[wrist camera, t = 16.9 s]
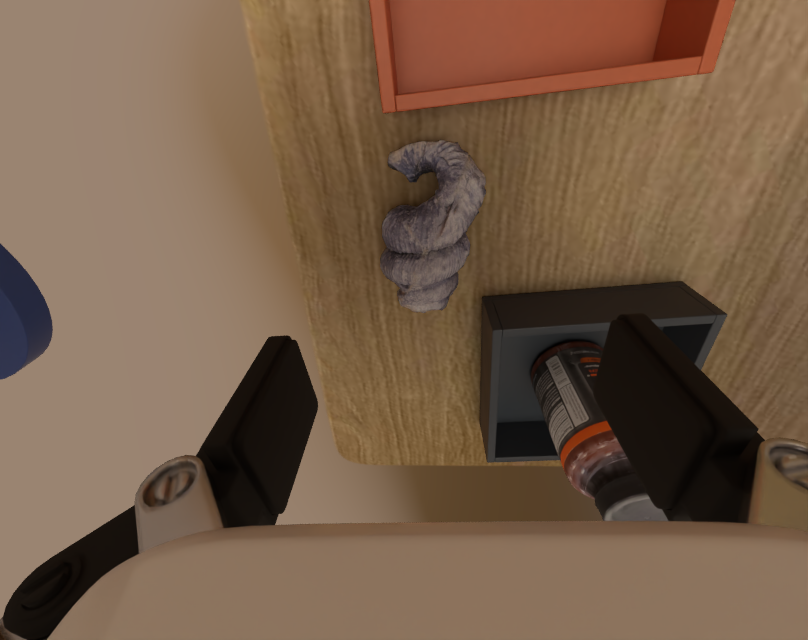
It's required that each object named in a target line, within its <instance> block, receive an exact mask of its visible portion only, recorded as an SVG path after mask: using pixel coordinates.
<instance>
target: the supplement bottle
mask: <svg viewBox="0 0 808 640" xmlns="http://www.w3.org/2000/svg"><path fill="white" fill-rule="evenodd" d="M602 353H603V349H602V348H601V347H600V346H598V345H596V344H594V343H590V342H585V341H572V342H566V343H562V344H559V345H557V346H554V347H552V348H550V349H549V350H547V351H546V352H544V353H543V354H542V355H541V356H540V357H539V358H538V359H537V360H536V362H535V364H534V365H533V368H532V371H531V383H532V386H533V389H534V392H535V395H536V397H537V400H538V403H539V405H540V408H541V411H542V413H543V416H544V418H545V421H546V424H547V426H548V429H549V432H550V435H551V437H552V440H553V443H554V445H555V448H556V451H557V453H558V456H559V459H560V461H561V463H562V466H563V469H564V471H565V474H566V476H567V478H568V480H569V482H570V483H571V484H572V486H573V487H575V488H576V489H577V490H578V491H579V492H581V493H582V494H584V495H586V496H588V497H590V498H593V499H595V504H596V506H597V508H598V509H599V512H600V514H601V515H602V518H603V521H668V519H667V517H666V516H665V514H664V512H663V510H662V509H658V508H656V507H655V506H654V504H653V503H652V501H651V500H650V498H649V496H648V494H647V492H646V491H645V489H644V487H643V485H642V483H641V482H640V480H639V478H638V476H637V474H636V473H635V471H634V469H633V467H632V465H631V464H630V462H629V460H628V458H627V456H626V455H625V453H624V451H623V449H622V447H621V446H620V444H619V442H618V440H617V438H616V437H615V435H614V433H613V431H612V429H611V428H610V426H609V424H608V422H607V420H606V419H605V417H604V415H603V413H602V411H601V410H600V408H599V406H598V404H597V402H596V400H595V398H594V395H593V386H594V383H595V379H596V375H597V371H598V368H599V364H600V360H601V356H602Z"/></svg>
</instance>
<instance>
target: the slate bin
mask: <svg viewBox="0 0 808 640" xmlns="http://www.w3.org/2000/svg"><path fill="white" fill-rule="evenodd" d="M635 313H643V314H645V315H647V316H648V317H649V318H650V319H651V320H652V321H653V322H654V323H655V324H656V325H657V326H658V327H659V329H660V330H661V331H662V332H663V333H664V334H665V335H666V336H667V337H668V338H669V339H670V340H671V341H672V342H673V343H674V344H675V345H676V346H677V347H678V348H679V349H680V350H681V351H682V352H683V353H684V354H685V355H686V356H687V357H688V358H689V359H690V360H691V361H692V362H693V363H694V364H695V365H696V366H697V367H698V368H699V369H700V370H701V369H702V367H703V364H704V362H705V360H706V358H707V356H708V354H709V352H710V350H711V348H712V346H713V344H714V342H715V340H716V338H717V336H718V333H719V331H720V329H721V327H722V325H723V323H724V321H725V319H726V317H727V314H726V313H725V312H723V311H722V310H721V309H719V308H718V307H717V306H715V305H714V304H712V303H711V302H710V301H708V300H707V299H706V298H704V297H703V296H701V295H700V294H699V293H697V292H696V291H695V290H693V289H692V288H690V287H689V286H688V285H686V284H685V283H684V282H669V283H656V284H643V285H630V286H617V287H604V288H591V289H578V290H565V291H552V292H539V293H526V294H513V295H500V296H487V297H482V327H481V381H480V427H481V432H482V437H483V443H484V448H485V453H486V459H487V462H488V463H489V462H517V461H544V460H560V459H559V456H558V453H557V451H556V448H555V445H554V443H553V440H552V437H551V435H550V432H549V429H548V426H547V424H546V421H545V418H544V416H543V413H542V411H541V408H540V405H539V403H538V400H537V397H536V395H535V392H534V389H533V386H532V383H531V371H532V368H533V365H534V364H535V362H536V360H537V359H538V358H539V357H540V356H541V355H542V354H543V353H544V352H546V351H547V350H549V349H550V348H552V347H554V346H557V345H559V344H562V343H566V342H572V341H585V342H590V343H594V344H596V345H598V346H600V347H601V348H602V349H604V345H605V341H606V338H607V334H608V330H609V326H610V323H611V322H612V320H616V319H617V317H618V316H619V315H621V314H635Z"/></svg>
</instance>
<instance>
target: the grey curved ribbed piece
mask: <svg viewBox="0 0 808 640" xmlns="http://www.w3.org/2000/svg"><path fill="white" fill-rule="evenodd" d="M388 166H389V167H390V168H392V169H394V170H397V171H400V172H402V173H403V174H404V175H405V176H406V177H407V179H408V180H409V182H417V180H418V178H419V176H420V175H422V174H424V173H429V172H435V173H436V177H437V179H438V183H439V189H438V190H436V191H435V195H434V196H433V197H431V198H429V200H428V201H426V202H423V203H422V204H421V205H419V206H418V207H413V206H409V205H399V206H397V207H396V208H394V209H392V210H391V211H389V212H388V214H387V216H386V218H385V219H384V221H383V224H382V237H383V240H384V242H385V244H386V247H387V248H386V249H385V250H384V252H383V253H382V255H381V258H380V267H381V270H382V272H383V274H384V275H385V276H386V277H387V278H388V279H390V280H391V281H393V282H395V284H396V285H397V286H398V287H400V289H399V290H398V291H397V296H398V301H399V303H400V305H401V306H403V307H406V308H408V309H411V310H412V311H413V312H422V313H425V312H426V311H430V310H443V309H444V308H445V307H446V306H447V303H448V300H449V296H451V295H452V294H453V292H454V290H455V289H456V288H457V285H458V272H457V271H458V270H459V269H460V268H461V267H463V265H464V263H465V261H466V258H467V256H468V255H469V252H470V251H469V250H470V242H469V240H468V237H467V235H466V233H465V232H466V231H467V228H469V226H470V225H471V223H472V221H473V220H474V218H475V216H476V215H477V214H478V213H479V211H478V209H479V208H480V207H481V206H482V202H483V199H484V196H485V194H486V190H485V188H484V186H485V184H486V180H485V176H484V173H483V172H482V171H480V170H479V169H478V168H477V166H476V164H475V163H474V161H473V160H472V158H471V156H470V155H468V153H467V152H465V151H463V150H462V149H461V148H460V146H459V144H458V142H455V143H451V142H448V141H444V140H440V141H438V142H426V141H421V142H416V143H411V144H408V145H406V146H404V147H401V149H399V150H396V151H394V152H390V154H389V157H388Z"/></svg>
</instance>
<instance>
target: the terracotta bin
mask: <svg viewBox="0 0 808 640" xmlns="http://www.w3.org/2000/svg"><path fill="white" fill-rule="evenodd" d="M735 1H736V0H369V6H370V14H371V22H372V31H373V39H374V47H375V55H376V63H377V72H378V80H379V88H380V96H381V104H382V112H383V113H392V112H396V111H397V112H400V111H408V110H416V109H424V108H432V107H440V106H448V105H456V104H464V103H472V102H480V101H489V100H497V99H505V98H513V97H521V96H529V95H537V94H545V93H553V92H561V91H569V90H577V89H585V88H593V87H601V86H609V85H617V84H625V83H633V82H641V81H649V80H657V79H665V78H673V77H681V76H689V75H696V74H705V73H711V72H713V71H714V68H715V64H716V61H717V58H718V55H719V52H720V49H721V45H722V42H723V39H724V36H725V33H726V29H727V26H728V23H729V20H730V17H731V13H732V10H733V7H734V4H735Z"/></svg>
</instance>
